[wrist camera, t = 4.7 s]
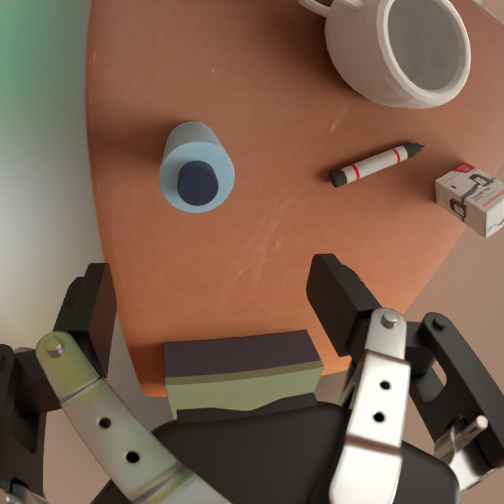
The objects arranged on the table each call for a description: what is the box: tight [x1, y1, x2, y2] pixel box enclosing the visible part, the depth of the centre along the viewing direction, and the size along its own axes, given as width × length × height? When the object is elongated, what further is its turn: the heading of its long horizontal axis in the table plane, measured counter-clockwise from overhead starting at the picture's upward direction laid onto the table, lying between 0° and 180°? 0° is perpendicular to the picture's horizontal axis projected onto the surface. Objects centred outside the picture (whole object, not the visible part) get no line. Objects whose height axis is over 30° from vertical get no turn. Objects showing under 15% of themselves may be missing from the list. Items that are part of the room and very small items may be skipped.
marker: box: [330, 143, 424, 188], centre depth 36 cm, size 15×2×2 cm, turn 111°
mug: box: [296, 0, 471, 108], centre depth 24 cm, size 21×17×10 cm
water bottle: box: [159, 121, 234, 213], centre depth 26 cm, size 6×6×14 cm
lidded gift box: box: [164, 330, 324, 420], centre depth 48 cm, size 24×12×8 cm, turn 85°
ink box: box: [435, 163, 504, 238], centre depth 37 cm, size 9×5×12 cm, turn 115°
